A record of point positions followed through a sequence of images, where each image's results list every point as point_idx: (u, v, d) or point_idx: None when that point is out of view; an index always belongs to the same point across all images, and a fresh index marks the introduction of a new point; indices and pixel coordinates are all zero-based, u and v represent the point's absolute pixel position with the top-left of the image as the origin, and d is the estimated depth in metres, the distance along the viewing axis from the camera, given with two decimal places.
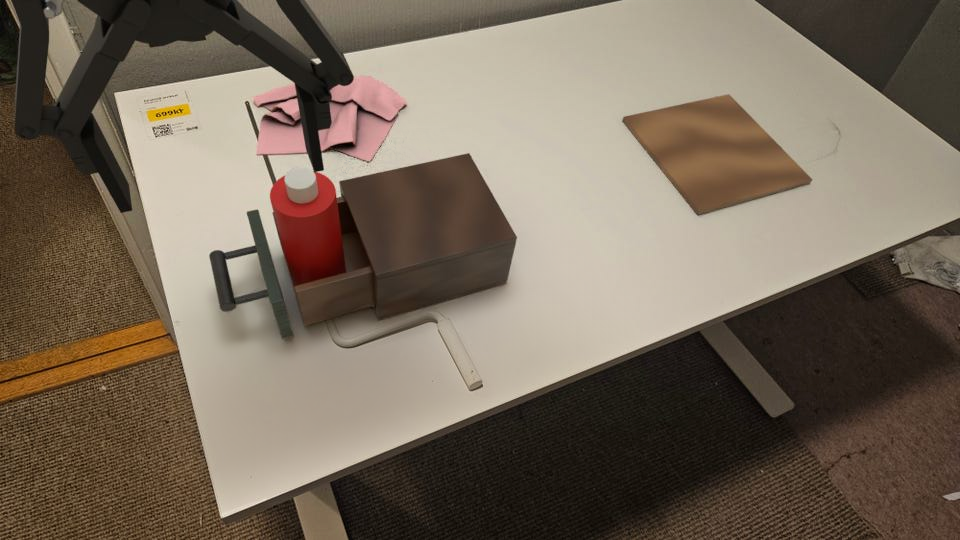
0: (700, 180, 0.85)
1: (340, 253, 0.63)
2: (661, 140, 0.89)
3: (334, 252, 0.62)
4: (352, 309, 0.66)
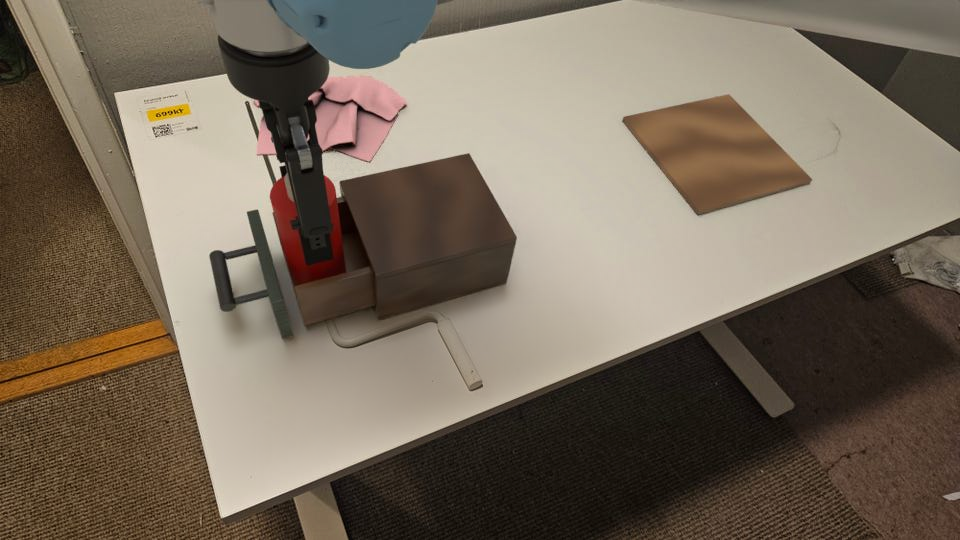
0: (700, 180, 0.85)
1: (340, 253, 0.63)
2: (661, 140, 0.89)
3: (334, 252, 0.62)
4: (352, 309, 0.66)
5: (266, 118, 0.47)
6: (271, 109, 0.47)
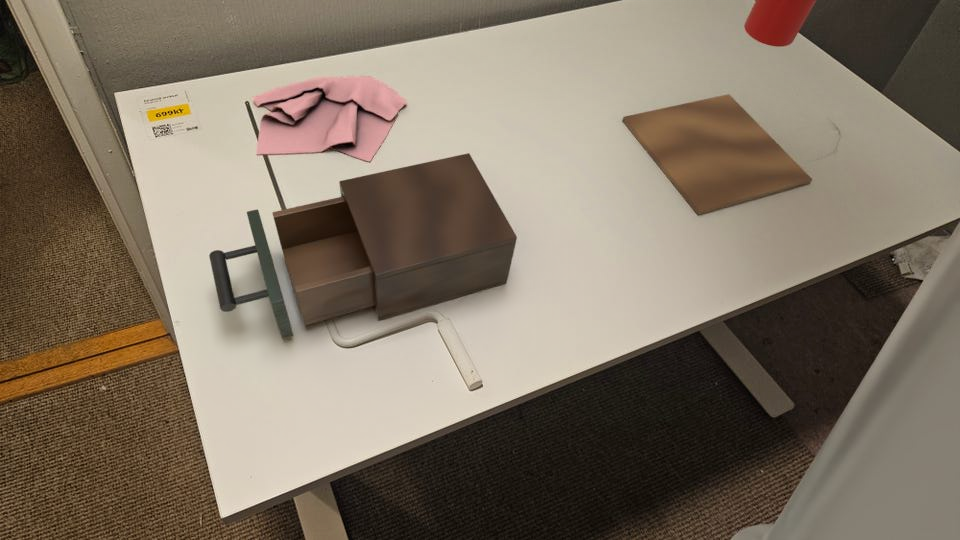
0: (700, 180, 0.85)
1: None
2: (661, 140, 0.89)
3: None
4: (352, 309, 0.66)
5: None
6: None
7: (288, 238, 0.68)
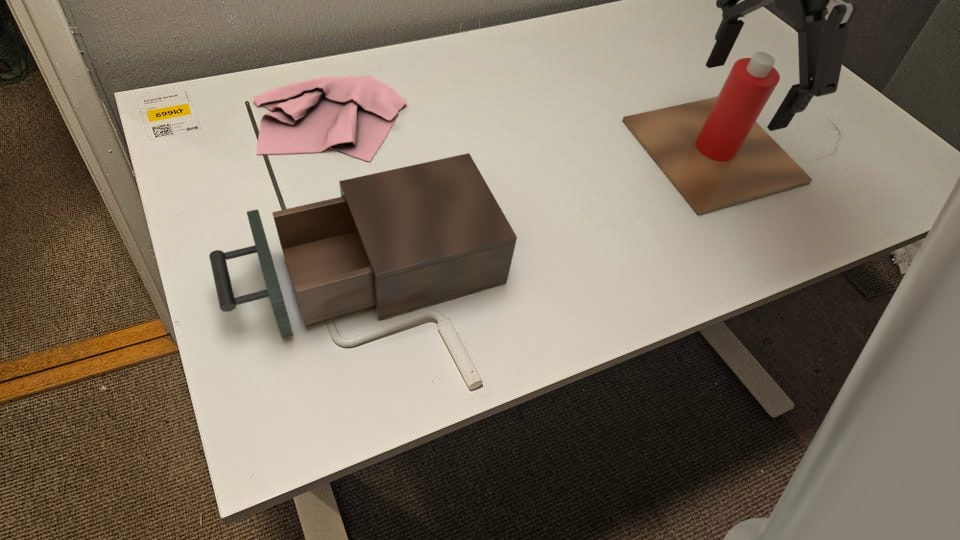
0: (700, 180, 0.85)
1: None
2: (661, 140, 0.89)
3: None
4: (352, 309, 0.66)
5: None
6: None
7: (288, 238, 0.68)
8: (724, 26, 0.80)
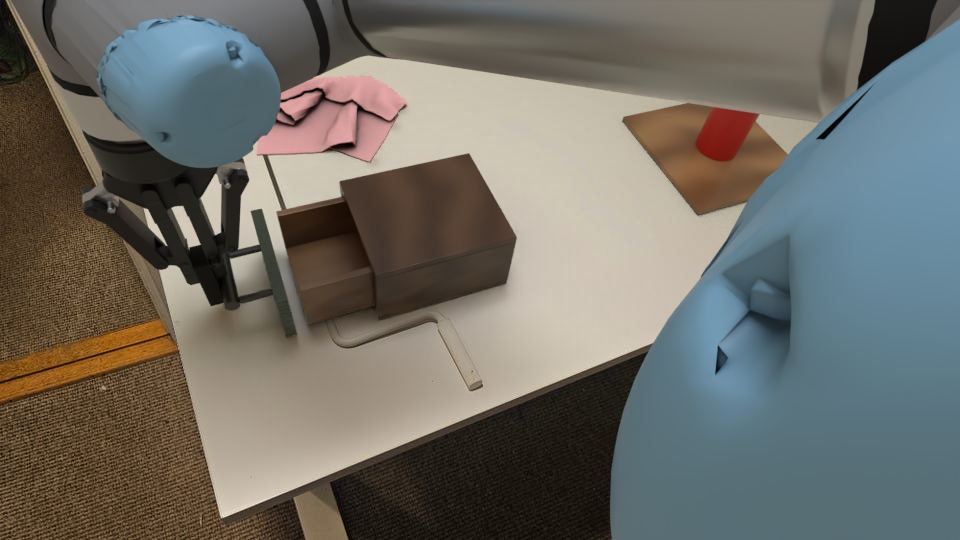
0: (700, 180, 0.85)
1: None
2: (661, 140, 0.89)
3: None
4: (356, 308, 0.66)
5: None
6: None
7: (292, 237, 0.68)
8: None
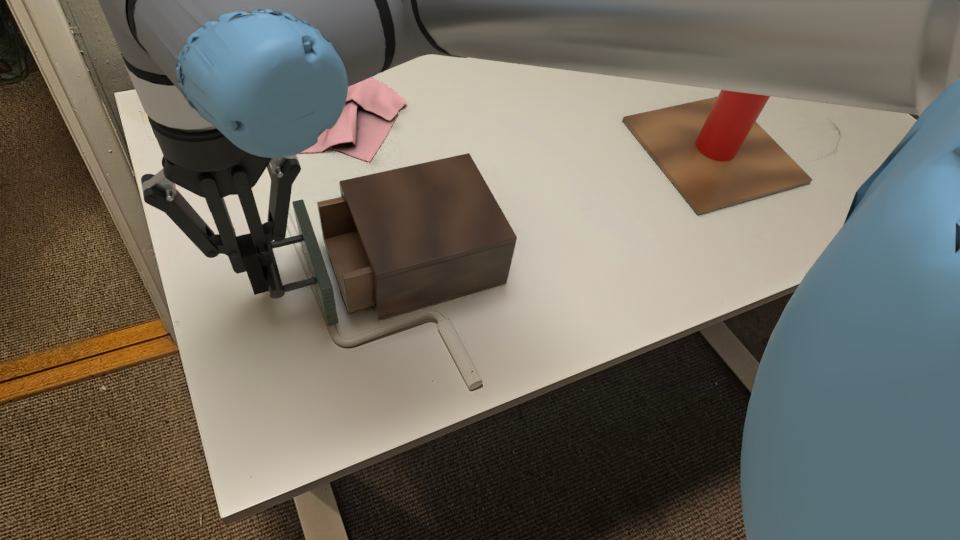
0: (700, 180, 0.85)
1: None
2: (661, 140, 0.89)
3: None
4: None
5: None
6: None
7: (330, 227, 0.69)
8: None
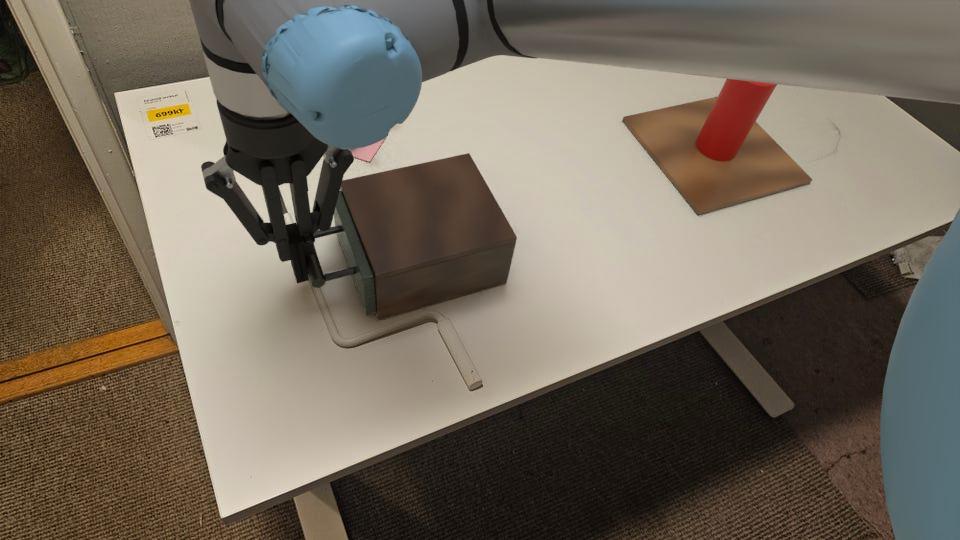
0: (700, 180, 0.85)
1: None
2: (661, 140, 0.89)
3: None
4: None
5: None
6: None
7: None
8: None
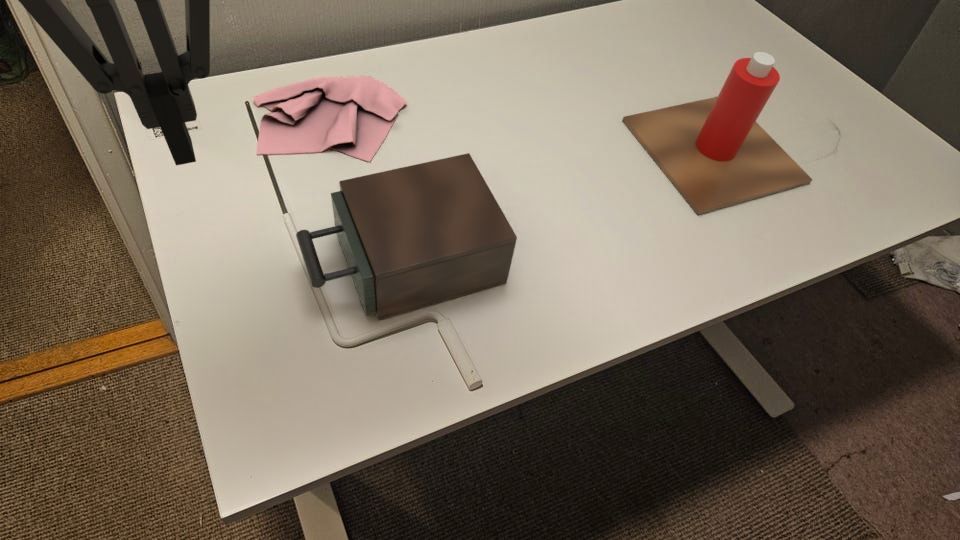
0: (700, 180, 0.85)
1: None
2: (661, 140, 0.89)
3: None
4: None
5: None
6: None
7: None
8: None
